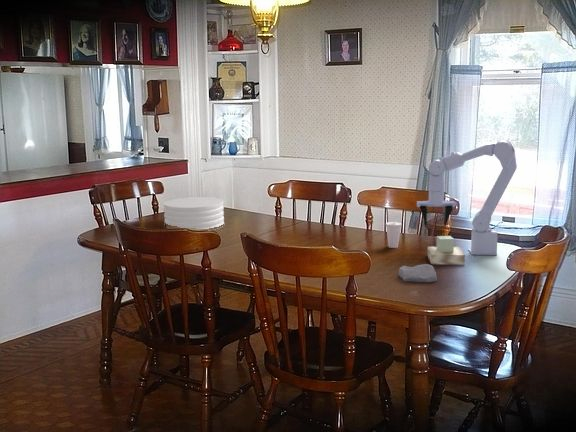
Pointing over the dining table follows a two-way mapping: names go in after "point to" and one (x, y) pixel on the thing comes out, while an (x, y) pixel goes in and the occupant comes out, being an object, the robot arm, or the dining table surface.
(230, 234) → the dining table surface
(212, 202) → the plate stack
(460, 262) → the beige panel
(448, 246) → the green block
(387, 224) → the smoothie
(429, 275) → the stone block
